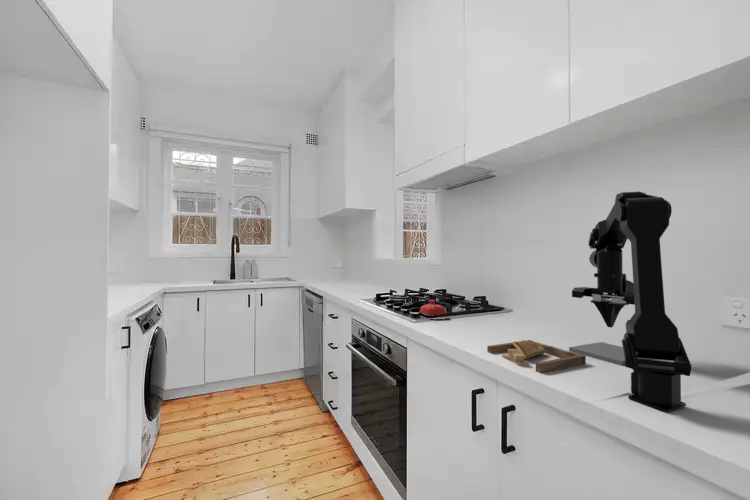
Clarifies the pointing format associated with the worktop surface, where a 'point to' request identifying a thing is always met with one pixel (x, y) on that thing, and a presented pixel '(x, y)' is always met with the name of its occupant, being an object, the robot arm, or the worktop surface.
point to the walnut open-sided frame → (564, 356)
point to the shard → (528, 348)
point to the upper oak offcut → (516, 355)
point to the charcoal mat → (602, 352)
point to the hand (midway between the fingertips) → (610, 327)
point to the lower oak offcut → (514, 361)
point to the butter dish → (433, 309)
